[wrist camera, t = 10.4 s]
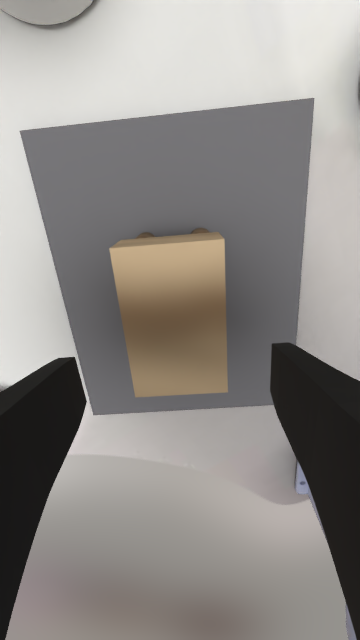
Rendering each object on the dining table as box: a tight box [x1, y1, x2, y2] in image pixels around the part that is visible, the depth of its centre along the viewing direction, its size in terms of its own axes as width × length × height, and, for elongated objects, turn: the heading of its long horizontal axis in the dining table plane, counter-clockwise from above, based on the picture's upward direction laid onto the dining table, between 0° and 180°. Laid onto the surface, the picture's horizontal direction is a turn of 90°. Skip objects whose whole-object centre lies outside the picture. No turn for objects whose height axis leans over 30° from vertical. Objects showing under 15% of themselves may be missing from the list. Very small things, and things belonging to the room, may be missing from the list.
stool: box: [109, 228, 228, 397], centre depth 17 cm, size 8×5×6 cm, turn 5°
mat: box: [20, 98, 314, 415], centre depth 20 cm, size 20×16×1 cm
